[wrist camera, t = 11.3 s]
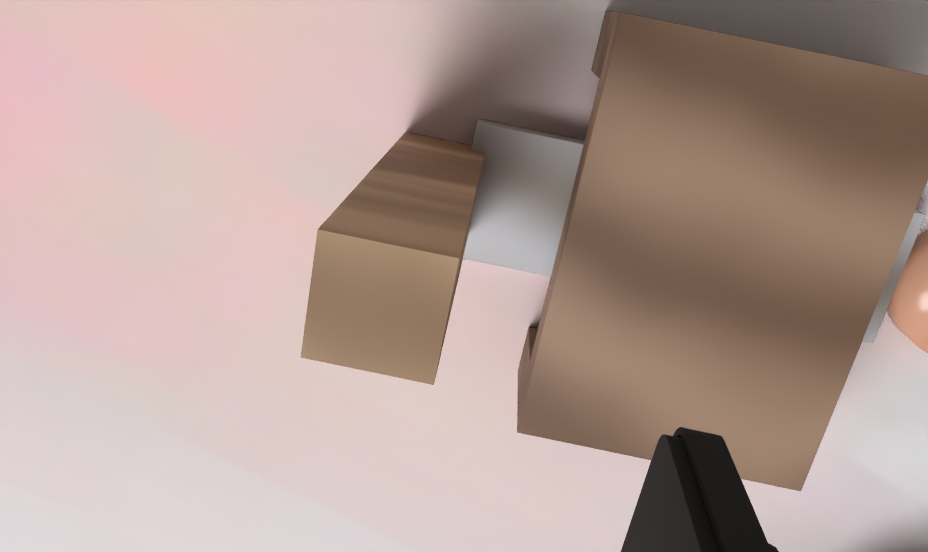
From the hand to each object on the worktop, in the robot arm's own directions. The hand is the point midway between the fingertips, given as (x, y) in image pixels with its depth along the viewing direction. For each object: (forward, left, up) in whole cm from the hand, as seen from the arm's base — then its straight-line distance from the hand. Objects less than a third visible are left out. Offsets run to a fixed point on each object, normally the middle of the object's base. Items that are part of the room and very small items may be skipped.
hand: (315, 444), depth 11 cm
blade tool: (0, +8, -19) cm, 21 cm away
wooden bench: (+1, +9, -19) cm, 21 cm away
